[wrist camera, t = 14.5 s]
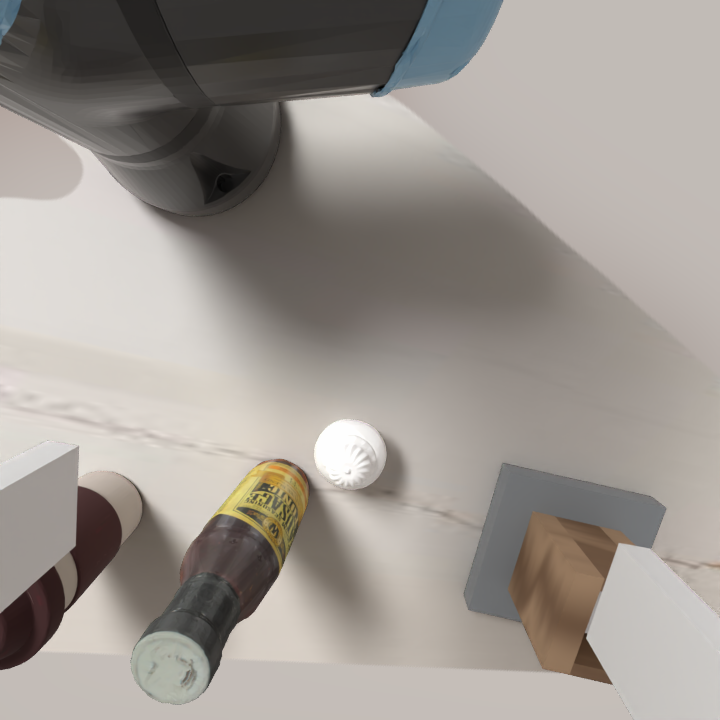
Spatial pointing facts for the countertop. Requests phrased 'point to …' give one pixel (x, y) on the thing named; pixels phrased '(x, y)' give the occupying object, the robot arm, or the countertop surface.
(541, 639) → the brown hollow block
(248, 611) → the sauce bottle
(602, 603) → the robot arm
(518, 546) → the shaft stand
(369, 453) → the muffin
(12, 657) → the coffee cup
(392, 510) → the countertop surface
